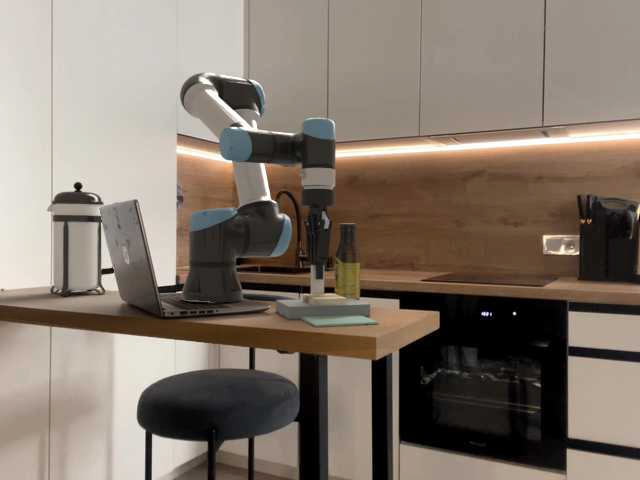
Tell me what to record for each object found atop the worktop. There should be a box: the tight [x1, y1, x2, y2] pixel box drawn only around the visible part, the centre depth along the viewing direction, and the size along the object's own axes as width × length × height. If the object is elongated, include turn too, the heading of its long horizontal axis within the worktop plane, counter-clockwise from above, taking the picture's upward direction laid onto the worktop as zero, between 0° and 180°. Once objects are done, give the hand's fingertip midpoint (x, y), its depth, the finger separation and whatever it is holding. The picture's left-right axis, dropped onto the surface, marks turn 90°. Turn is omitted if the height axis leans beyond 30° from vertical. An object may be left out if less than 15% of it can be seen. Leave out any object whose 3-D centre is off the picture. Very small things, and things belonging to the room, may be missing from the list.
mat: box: [301, 314, 379, 328], centre depth 118 cm, size 10×13×1 cm
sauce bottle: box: [334, 222, 361, 301], centre depth 144 cm, size 6×6×20 cm
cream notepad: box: [302, 292, 347, 306], centre depth 126 cm, size 9×7×2 cm
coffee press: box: [46, 181, 115, 298], centre depth 158 cm, size 17×16×30 cm
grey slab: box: [275, 298, 371, 320], centre depth 128 cm, size 11×18×2 cm, turn 108°
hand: (317, 293), depth 131 cm, fingers closed
